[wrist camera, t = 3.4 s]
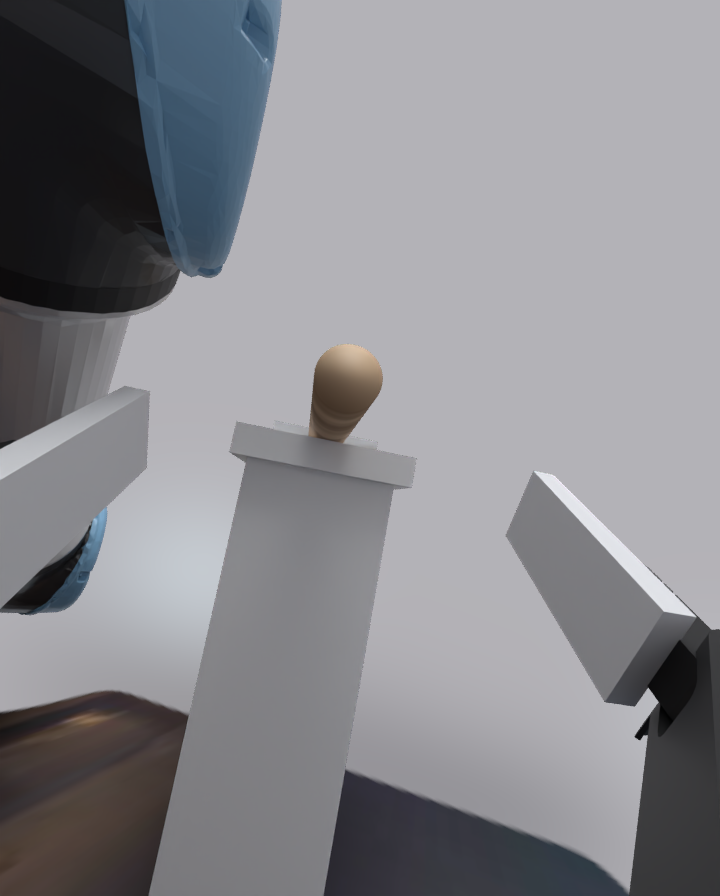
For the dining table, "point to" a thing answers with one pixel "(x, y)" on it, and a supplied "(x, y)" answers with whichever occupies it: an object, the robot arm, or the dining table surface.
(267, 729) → the plinth
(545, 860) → the dining table surface
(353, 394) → the ball
